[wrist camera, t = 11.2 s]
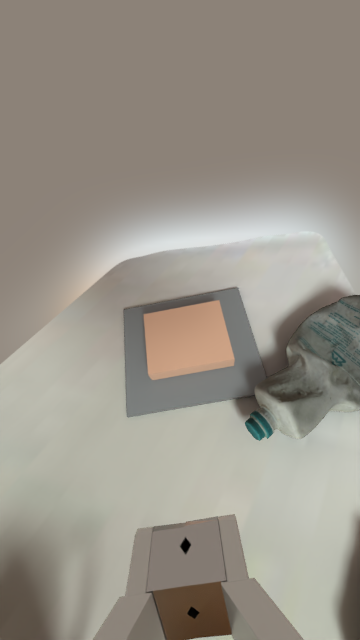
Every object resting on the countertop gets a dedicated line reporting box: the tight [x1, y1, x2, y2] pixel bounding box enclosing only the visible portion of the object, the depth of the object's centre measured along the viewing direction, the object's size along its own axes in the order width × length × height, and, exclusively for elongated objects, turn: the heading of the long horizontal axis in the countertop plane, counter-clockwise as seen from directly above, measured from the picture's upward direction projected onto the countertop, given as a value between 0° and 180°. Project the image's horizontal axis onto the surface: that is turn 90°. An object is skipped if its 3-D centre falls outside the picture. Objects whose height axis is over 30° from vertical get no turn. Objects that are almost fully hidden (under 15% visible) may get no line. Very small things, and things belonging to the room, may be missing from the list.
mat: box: [124, 288, 267, 417], centre depth 41 cm, size 20×18×1 cm
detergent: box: [245, 295, 360, 441], centre depth 34 cm, size 13×7×25 cm
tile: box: [144, 300, 235, 380], centre depth 40 cm, size 12×3×10 cm
